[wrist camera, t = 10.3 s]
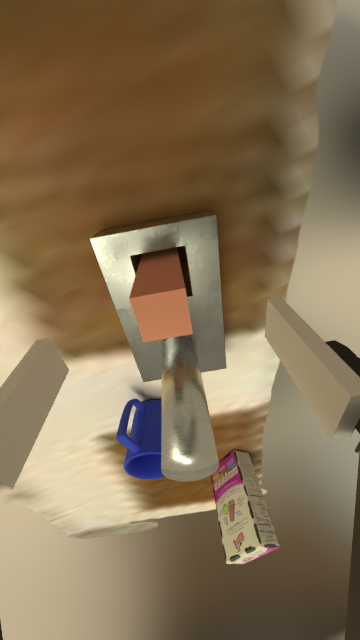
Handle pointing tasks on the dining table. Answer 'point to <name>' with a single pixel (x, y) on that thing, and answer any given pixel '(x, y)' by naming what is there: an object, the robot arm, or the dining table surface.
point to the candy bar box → (242, 510)
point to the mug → (142, 439)
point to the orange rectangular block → (160, 296)
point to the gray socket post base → (177, 352)
